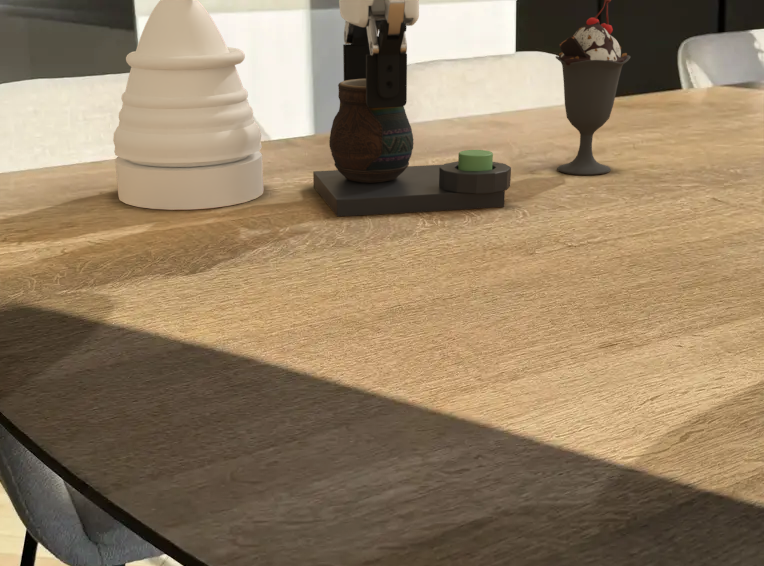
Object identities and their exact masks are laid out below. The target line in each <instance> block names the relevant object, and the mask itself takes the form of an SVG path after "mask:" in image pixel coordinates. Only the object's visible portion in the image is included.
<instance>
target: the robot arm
mask: <svg viewBox="0 0 764 566" xmlns="http://www.w3.org/2000/svg"><path fill="white" fill-rule="evenodd" d="M338 6H339V13H340V17H341V18H342V19H343V21H345V22H344V30H343V42H344V44H342V48H343V50H342V52H343V53H342V54H343V57H342V58H343V81H346V80H354V79H366V104H367V106H368V107H370V108H385V107H403V106H404V107H405V106H406V105H407V102H408V101H407V99H408V94H407V93H408V53H407V52H408V42H407V35H406V32H407V27H409V26H410V27H412V26H414V25H415V24H416V23H417V21H418V20H419V17H420V0H338Z"/></svg>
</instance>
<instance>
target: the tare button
mask: <svg viewBox="0 0 764 566" xmlns="http://www.w3.org/2000/svg"><path fill="white" fill-rule="evenodd" d="M457 156H458V159H457V160H458V161H457V162H458V170H463V171H488V170H492V163H493V162H494V160H493V159H494V153H493V152H492V151H490V150H485V149H467V150H461V151H459V152H458V155H457Z"/></svg>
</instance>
